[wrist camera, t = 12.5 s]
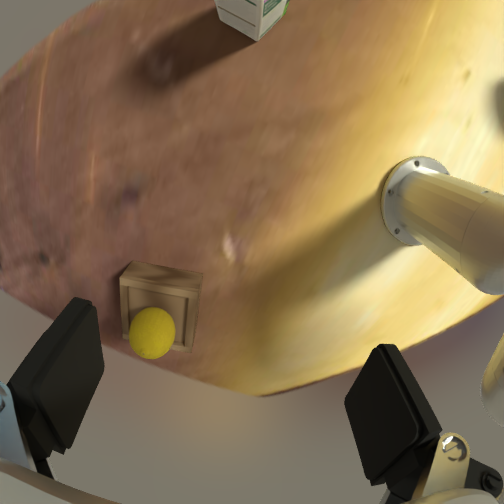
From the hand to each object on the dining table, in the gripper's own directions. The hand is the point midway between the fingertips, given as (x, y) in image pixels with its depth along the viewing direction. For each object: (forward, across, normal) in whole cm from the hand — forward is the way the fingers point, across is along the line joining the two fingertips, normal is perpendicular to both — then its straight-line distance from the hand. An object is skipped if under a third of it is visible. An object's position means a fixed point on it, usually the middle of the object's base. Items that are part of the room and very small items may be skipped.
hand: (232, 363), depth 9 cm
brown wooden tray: (+28, +8, +17) cm, 34 cm away
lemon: (+24, +8, +17) cm, 30 cm away
